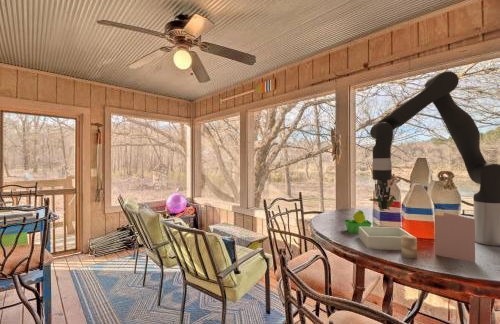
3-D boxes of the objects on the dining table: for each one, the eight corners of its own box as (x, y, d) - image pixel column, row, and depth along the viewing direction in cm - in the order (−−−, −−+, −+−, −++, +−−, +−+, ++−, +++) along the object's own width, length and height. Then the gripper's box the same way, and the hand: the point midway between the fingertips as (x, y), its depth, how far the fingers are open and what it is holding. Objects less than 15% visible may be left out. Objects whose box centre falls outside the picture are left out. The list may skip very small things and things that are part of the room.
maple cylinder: (413, 253, 99) (413, 235, 99) (419, 258, 94) (419, 239, 94) (399, 253, 100) (398, 235, 100) (404, 258, 95) (404, 239, 95)
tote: (400, 238, 118) (399, 227, 118) (415, 250, 103) (415, 237, 103) (358, 237, 121) (358, 226, 121) (368, 248, 106) (367, 236, 106)
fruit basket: (367, 229, 134) (366, 207, 134) (373, 234, 125) (373, 211, 125) (344, 229, 135) (343, 207, 135) (348, 234, 126) (348, 211, 126)
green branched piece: (398, 210, 112) (398, 191, 112) (370, 211, 113) (369, 192, 113) (394, 209, 116) (394, 190, 115) (367, 209, 116) (366, 191, 116)
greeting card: (477, 262, 90) (476, 218, 90) (459, 264, 89) (459, 220, 89) (446, 250, 101) (445, 212, 101) (430, 252, 100) (429, 213, 100)
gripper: (397, 169, 106) (398, 211, 107) (385, 168, 120) (386, 205, 120) (377, 169, 108) (378, 211, 108) (368, 168, 121) (368, 205, 122)
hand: (382, 208), depth 114 cm, fingers closed on green branched piece, 3 cm apart
